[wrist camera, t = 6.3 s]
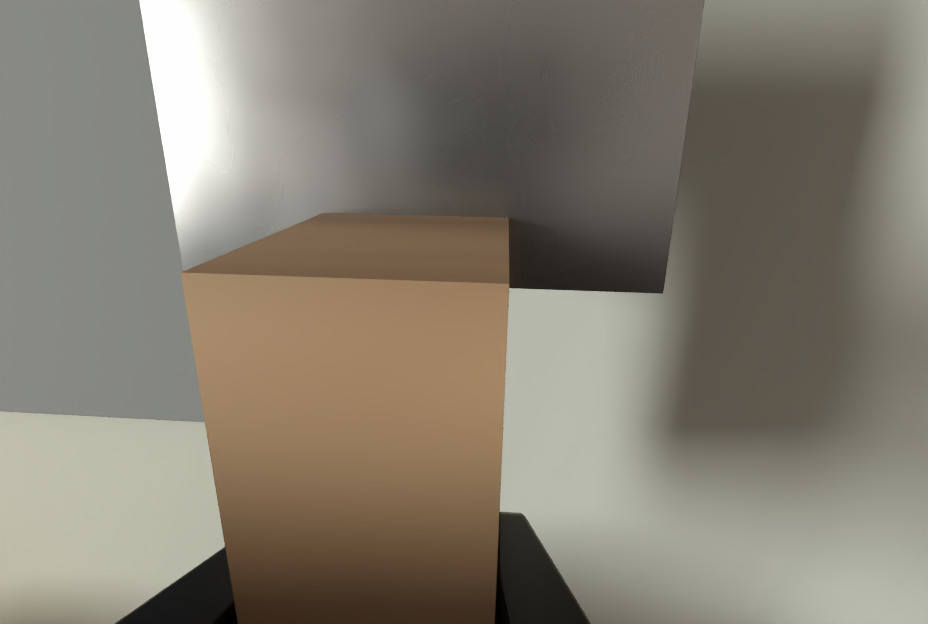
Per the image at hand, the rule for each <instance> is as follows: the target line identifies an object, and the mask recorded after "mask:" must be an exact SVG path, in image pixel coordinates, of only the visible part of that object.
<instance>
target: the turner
mask: <svg viewBox="0 0 928 624" xmlns="http://www.w3.org/2000/svg"><path fill="white" fill-rule="evenodd" d="M139 1H140V7H141V13H142V19H143V26H144V32H145V38H146V44H147V50H148V57H149V63H150V69H151V75H152V81H153V88H154V94H155V100H156V106H157V112H158V118H159V125H160V131H161V137H162V143H163V149H164V156H165V162H166V168H167V174H168V180H169V187H170V193H171V199H172V205H173V211H174V218H175V224H176V230H177V236H178V242H179V248H180V255H181V261H182V267H183V272H181V278H182V284H183V290H184V297H185V303H186V309H187V315H188V321H189V327H190V333H191V339H192V346H193V352H194V358H195V364H196V370H197V376H198V382H199V388H200V395H201V401H202V407H203V413H204V419H205V425H206V431H207V437H208V444H209V450H210V456H211V462H212V468H213V474H214V480H215V486H216V493H217V499H218V505H219V511H220V517H221V523H222V529H223V535H224V542H225V548H226V554H227V560H228V566H229V572H230V578H231V584H232V591H233V597H234V603H235V609H236V615H237V621H238V624H495V602H496V579H497V556H498V533H499V510H500V487H501V463H502V440H503V417H504V394H505V371H506V348H507V324H508V301H509V288H524V289H553V290H581V291H610V292H638V293H663V290H664V282H665V275H666V268H667V261H668V254H669V247H670V240H671V233H672V226H673V219H674V212H675V204H676V197H677V190H678V183H679V176H680V169H681V162H682V155H683V148H684V141H685V134H686V126H687V119H688V112H689V105H690V98H691V91H692V84H693V77H694V70H695V63H696V56H697V49H698V41H699V34H700V27H701V20H702V13H703V6H704V0H139Z"/></svg>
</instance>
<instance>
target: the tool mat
mask: <svg viewBox="0 0 928 624" xmlns="http://www.w3.org/2000/svg"><path fill="white" fill-rule="evenodd" d="M181 272H183V267H182V261H181V255H180V248H179V242H178V236H177V230H176V224H175V218H174V211H173V205H172V199H171V193H170V187H169V180H168V174H167V168H166V162H165V156H164V149H163V143H162V137H161V131H160V125H159V118H158V112H157V106H156V100H155V94H154V88H153V81H152V75H151V69H150V63H149V57H148V50H147V44H146V38H145V32H144V26H143V19H142V13H141V7H140V1H139V0H0V411H5V412H24V413H43V414H62V415H80V416H99V417H118V418H137V419H155V420H174V421H193V422H205V419H204V413H203V407H202V401H201V395H200V388H199V382H198V376H197V370H196V364H195V358H194V352H193V346H192V339H191V333H190V327H189V321H188V315H187V309H186V303H185V297H184V290H183V284H182V278H181Z"/></svg>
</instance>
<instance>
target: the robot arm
mask: <svg viewBox="0 0 928 624" xmlns="http://www.w3.org/2000/svg"><path fill="white" fill-rule="evenodd" d="M115 624H238V621H237V615H236V609H235V603H234V597H233V591H232V584H231V578H230V572H229V566H228V560H227V554H226V548H225V547H224V548H223V549H221V550H220V551H218V552H217V553H215V554H214V555H213V556H211V557H210V558H208V559H207V560H205V561H204V562H203V563H201V564H200V565H198V566H197V567H195V568H194V569H193V570H191V571H190V572H188V573H187V574H185V575H184V576H182V577H181V578H180V579H178V580H177V581H175V582H174V583H172V584H171V585H170V586H168V587H167V588H165V589H164V590H162V591H161V592H160V593H158V594H157V595H155V596H154V597H152V598H151V599H149V600H148V601H147V602H145V603H144V604H142V605H141V606H139V607H138V608H137V609H135V610H134V611H132V612H131V613H129V614H128V615H127V616H125V617H124V618H122V619H121V620H119V621H118V622H116V623H115ZM495 624H591V623H590V622H589V620H588V618H587V617H586V615H585V613H584V612H583V610H582V608H581V607H580V605H579V604H578V602H577V600H576V599H575V597H574V595H573V594H572V592H571V591H570V589H569V587H568V586H567V584H566V582H565V581H564V579H563V577H562V576H561V574H560V573H559V571H558V569H557V568H556V566H555V564H554V563H553V561H552V560H551V558H550V556H549V555H548V553H547V551H546V550H545V548H544V546H543V545H542V543H541V542H540V540H539V538H538V537H537V535H536V533H535V532H534V530H533V529H532V527H531V525H530V524H529V522H528V520H527V519H526V517H525V516H524V515H523V514H521V513H512V512H499V533H498V556H497V579H496V602H495Z"/></svg>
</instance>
